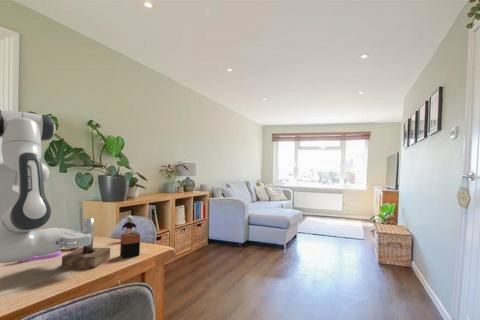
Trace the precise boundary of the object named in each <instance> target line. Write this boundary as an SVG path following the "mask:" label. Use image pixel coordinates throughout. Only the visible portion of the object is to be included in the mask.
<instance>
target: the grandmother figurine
mask: <svg viewBox="0 0 480 320" xmlns="http://www.w3.org/2000/svg"><path fill="white" fill-rule="evenodd" d="M133 221H134V217H133V216H132V215H127V216H126V222H125V223H124V224H122V225H123V226H122V227H121V231H124V230H125V231H124V233H125V232H128V233H132V231H134V230H135V231H138V225H136V223H134V222H133ZM133 228H134V230H133Z"/></svg>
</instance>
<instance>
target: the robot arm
mask: <svg viewBox="0 0 480 320" xmlns="http://www.w3.org/2000/svg"><path fill="white" fill-rule="evenodd" d="M55 133H56V123H55V121H54V119H53V118H52V116H49V115H45V114H37V113H33V112H27V111H17V110H16V111H14V110H1V109H0V138H1V146H0V147H1V148H0V152H1V157H2V161H0V264H4V263H5V264H6V263H13V262H14V263H15V262H19V261H20V262H21V261H22V260H25V259H28V258H30V257H33V256H44V255H49V254H53V253H57V252H58V251H61V249H70V248H78V247H79V248H83V247H84V246H88V245H90V244H91V238H93V239H94V238H95V236H96V234H95V232H93V233H88V234H85V233H83V231H84V230H80V231H79V230H78V231H76V230H73V229H68V228H64V227H63V228H58V227H50V228H47V227H46V228H40V227H42V226H45V224H46V223H47V222H48V221H49V220H50V217H51V215H52V208H51V205H50V203H49V201H48V199H47V196H46V194H45V188H44V187H45V185H44V184H45V183H46V182H47V181H48V180H49V177H50V174H51V173H50V169H49V167H48V166H47V165H46V164H44V163H43V162H42V141H50V140H51V139H52V138H53V137H54V135H55ZM14 186H18V191H16V190H14V189H13V187H14ZM39 228H40V229H39ZM79 248H78V249H79Z"/></svg>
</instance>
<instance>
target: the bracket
mask: <svg viewBox="0 0 480 320" xmlns="http://www.w3.org/2000/svg"><path fill="white" fill-rule="evenodd" d="M61 255H62V250H59V251H58V252H57V253H53V254H49V255H44V256H33V257H30V258H28V259H25V260H21V262H22V263H25V262H32V261H39V260H44V259H46V260H47V259H52V258H56V257H58V258H59V257H60V256H61Z"/></svg>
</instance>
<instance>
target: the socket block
mask: <svg viewBox="0 0 480 320" xmlns="http://www.w3.org/2000/svg"><path fill="white" fill-rule="evenodd" d="M110 258H111V247H93V252H92V253H90V254H83V247H79V248H78V249H74V250H73V251H71V252H69V253H66V254H65V255H64V254H63V256H61V269H62V268H63V269H95V268H97V267H98V266H101V265H102V264H103V263H105V262H106V261H107V260H109V259H110Z"/></svg>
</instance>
